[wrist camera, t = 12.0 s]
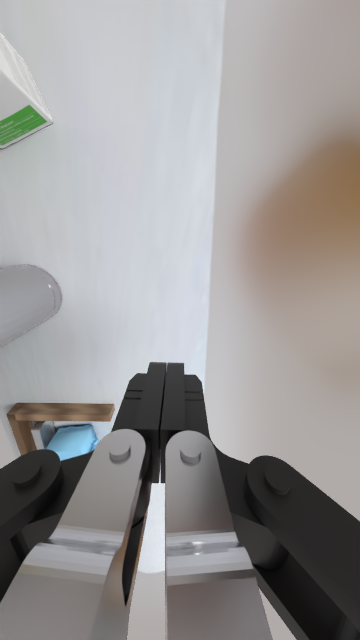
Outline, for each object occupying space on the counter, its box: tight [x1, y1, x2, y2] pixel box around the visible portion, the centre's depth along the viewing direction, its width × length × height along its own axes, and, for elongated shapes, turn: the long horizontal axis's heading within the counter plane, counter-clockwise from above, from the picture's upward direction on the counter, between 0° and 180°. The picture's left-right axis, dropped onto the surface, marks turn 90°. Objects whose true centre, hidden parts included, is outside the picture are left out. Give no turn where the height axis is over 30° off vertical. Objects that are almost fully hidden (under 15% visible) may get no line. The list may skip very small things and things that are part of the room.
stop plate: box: [31, 421, 56, 450], centre depth 44 cm, size 2×13×4 cm, turn 179°
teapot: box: [46, 424, 98, 461], centre depth 43 cm, size 12×6×8 cm, turn 96°
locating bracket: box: [7, 403, 115, 456], centre depth 45 cm, size 20×18×3 cm
